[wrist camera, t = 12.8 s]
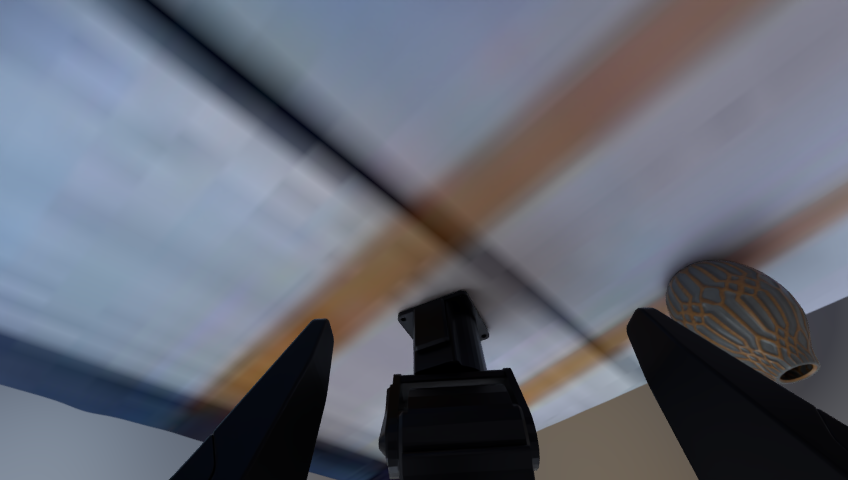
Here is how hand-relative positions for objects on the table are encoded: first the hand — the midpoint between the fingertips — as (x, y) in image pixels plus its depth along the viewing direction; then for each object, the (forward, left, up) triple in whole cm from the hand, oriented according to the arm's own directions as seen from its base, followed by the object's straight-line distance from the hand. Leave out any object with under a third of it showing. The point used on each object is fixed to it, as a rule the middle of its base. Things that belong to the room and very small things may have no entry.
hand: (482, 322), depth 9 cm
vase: (-19, -15, -13) cm, 28 cm away
